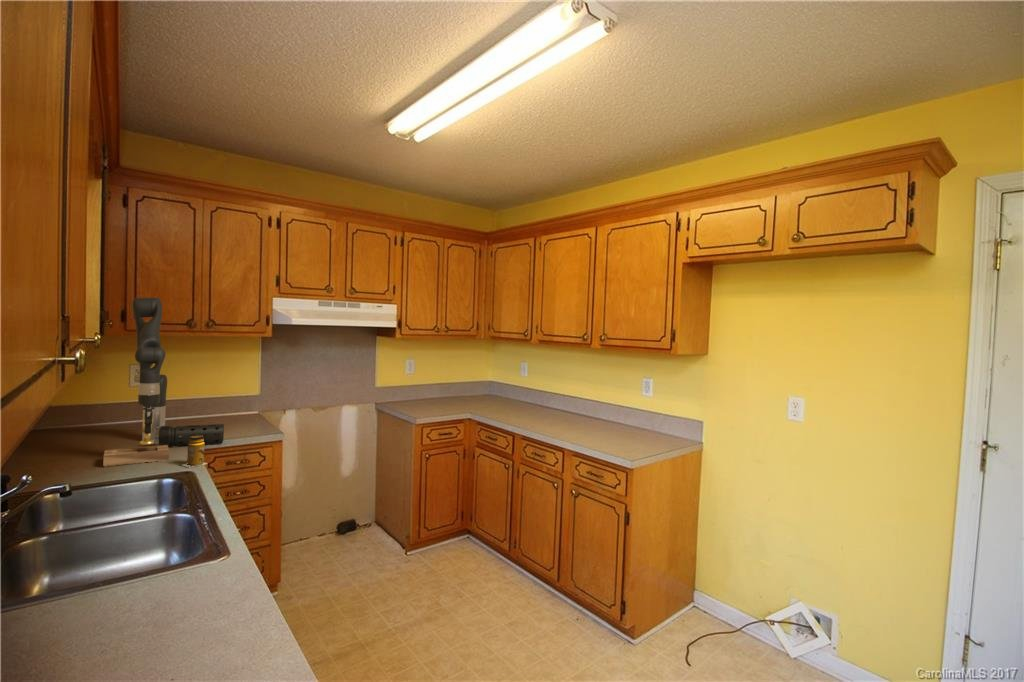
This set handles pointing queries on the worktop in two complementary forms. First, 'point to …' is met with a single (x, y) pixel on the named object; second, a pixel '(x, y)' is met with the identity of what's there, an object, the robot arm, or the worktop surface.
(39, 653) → the worktop surface
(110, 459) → the keyhole board
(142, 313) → the robot arm
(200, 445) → the condiment
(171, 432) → the muzzle brake
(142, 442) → the brass peg
